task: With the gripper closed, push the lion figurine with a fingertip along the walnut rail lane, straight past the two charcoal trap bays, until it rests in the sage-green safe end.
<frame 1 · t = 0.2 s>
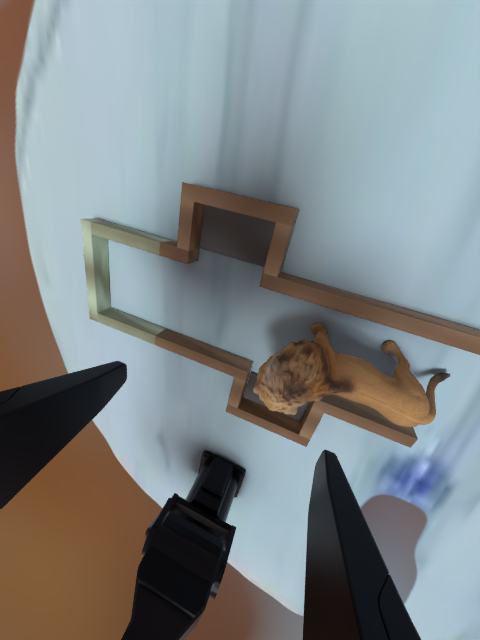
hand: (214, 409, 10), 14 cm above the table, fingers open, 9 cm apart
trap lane: (263, 326, 24), on the table
lion figurine: (345, 353, 23), on the table
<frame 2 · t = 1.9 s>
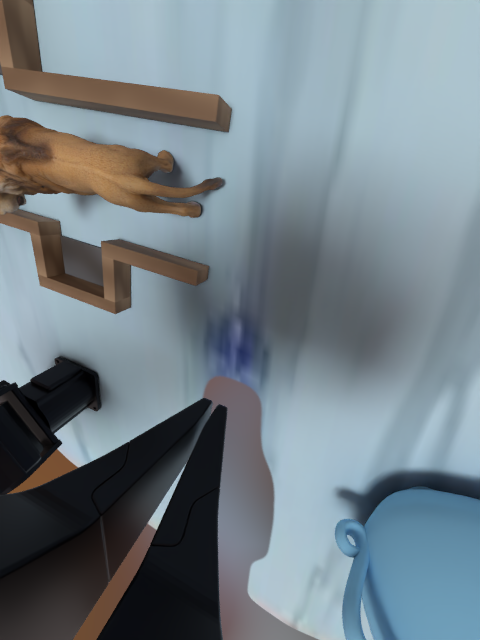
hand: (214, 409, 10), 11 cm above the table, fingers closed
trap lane: (52, 167, 21), on the table
decorative pot: (447, 528, 22), on the table
lion figurine: (136, 186, 19), on the table
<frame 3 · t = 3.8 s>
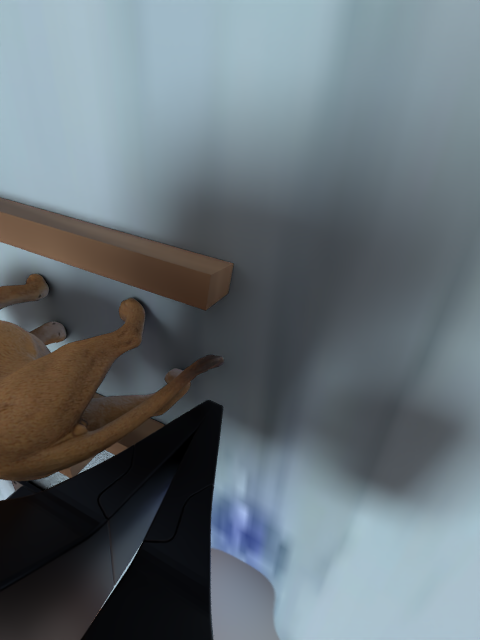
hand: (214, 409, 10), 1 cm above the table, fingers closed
lion figurine: (95, 328, 13), on the table, touching gripper
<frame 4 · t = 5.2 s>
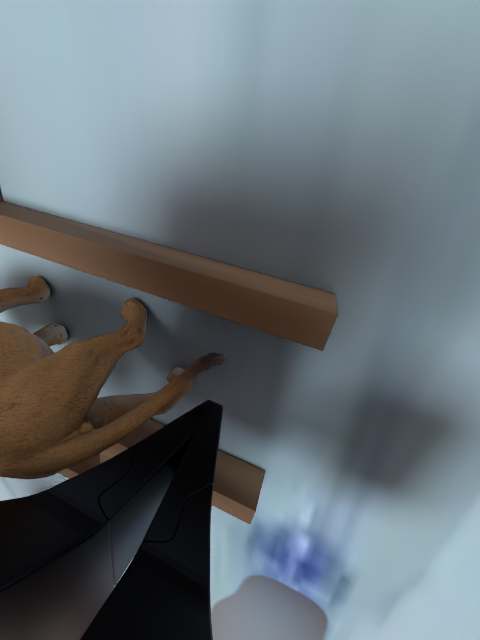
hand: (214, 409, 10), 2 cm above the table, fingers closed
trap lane: (23, 306, 14), on the table
lion figurine: (96, 329, 13), on the table, touching gripper
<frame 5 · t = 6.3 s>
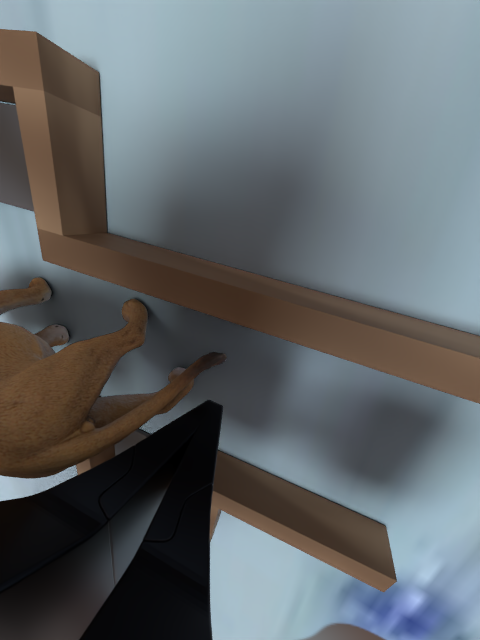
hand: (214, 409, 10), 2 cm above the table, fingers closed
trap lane: (109, 342, 13), on the table
lion figurine: (97, 330, 13), on the table, touching gripper
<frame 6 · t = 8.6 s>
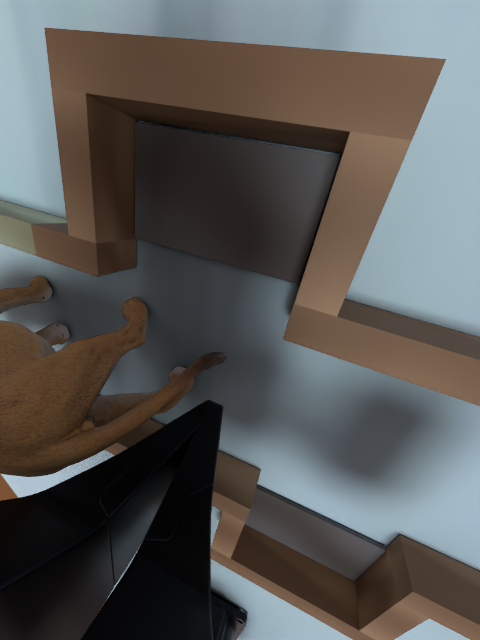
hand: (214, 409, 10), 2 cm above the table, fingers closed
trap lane: (283, 410, 11), on the table
lion figurine: (98, 328, 13), on the table, touching gripper
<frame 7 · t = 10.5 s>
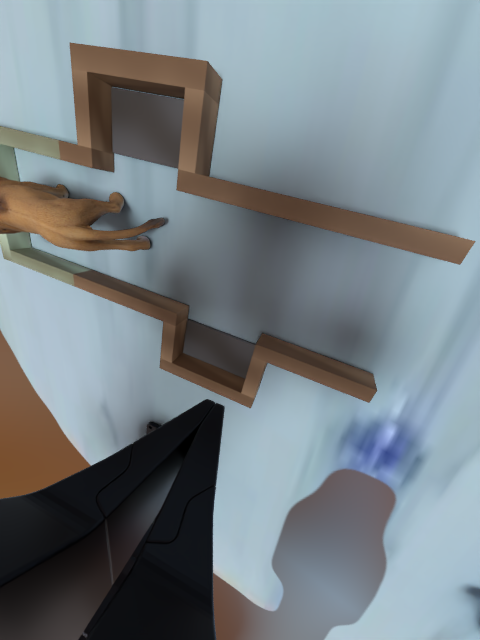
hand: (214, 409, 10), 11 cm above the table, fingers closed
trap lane: (195, 256, 19), on the table
lion figurine: (95, 220, 22), on the table
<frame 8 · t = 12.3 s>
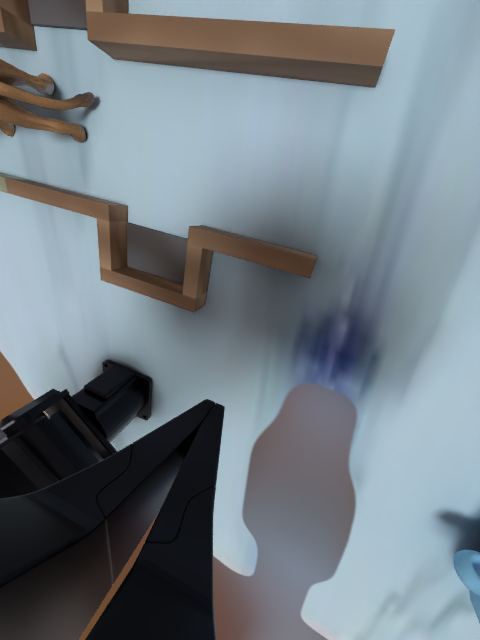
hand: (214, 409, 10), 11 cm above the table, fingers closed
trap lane: (126, 141, 18), on the table
lion figurine: (31, 118, 20), on the table
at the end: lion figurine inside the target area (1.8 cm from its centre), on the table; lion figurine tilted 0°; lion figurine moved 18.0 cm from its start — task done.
